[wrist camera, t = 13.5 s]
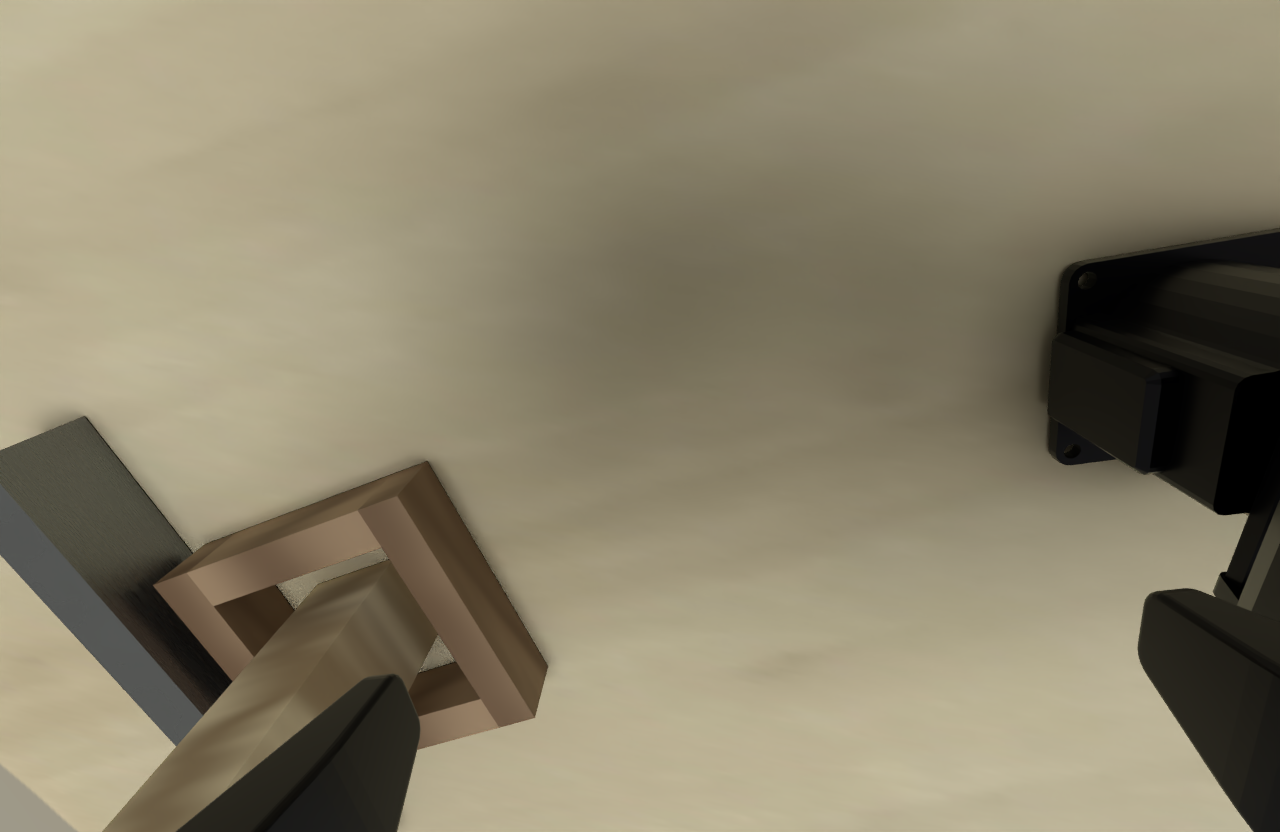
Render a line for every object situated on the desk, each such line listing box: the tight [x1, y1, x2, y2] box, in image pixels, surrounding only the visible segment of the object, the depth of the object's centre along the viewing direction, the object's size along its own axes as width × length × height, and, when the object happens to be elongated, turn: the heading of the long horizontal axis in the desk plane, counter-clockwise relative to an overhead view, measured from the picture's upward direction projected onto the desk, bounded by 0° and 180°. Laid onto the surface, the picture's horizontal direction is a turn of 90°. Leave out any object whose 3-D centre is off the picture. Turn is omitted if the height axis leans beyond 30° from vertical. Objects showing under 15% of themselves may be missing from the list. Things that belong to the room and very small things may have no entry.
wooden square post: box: [102, 560, 438, 832], centre depth 18 cm, size 4×4×13 cm
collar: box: [153, 461, 548, 750], centre depth 23 cm, size 10×10×2 cm
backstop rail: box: [0, 416, 233, 746], centre depth 23 cm, size 2×22×4 cm, turn 22°
